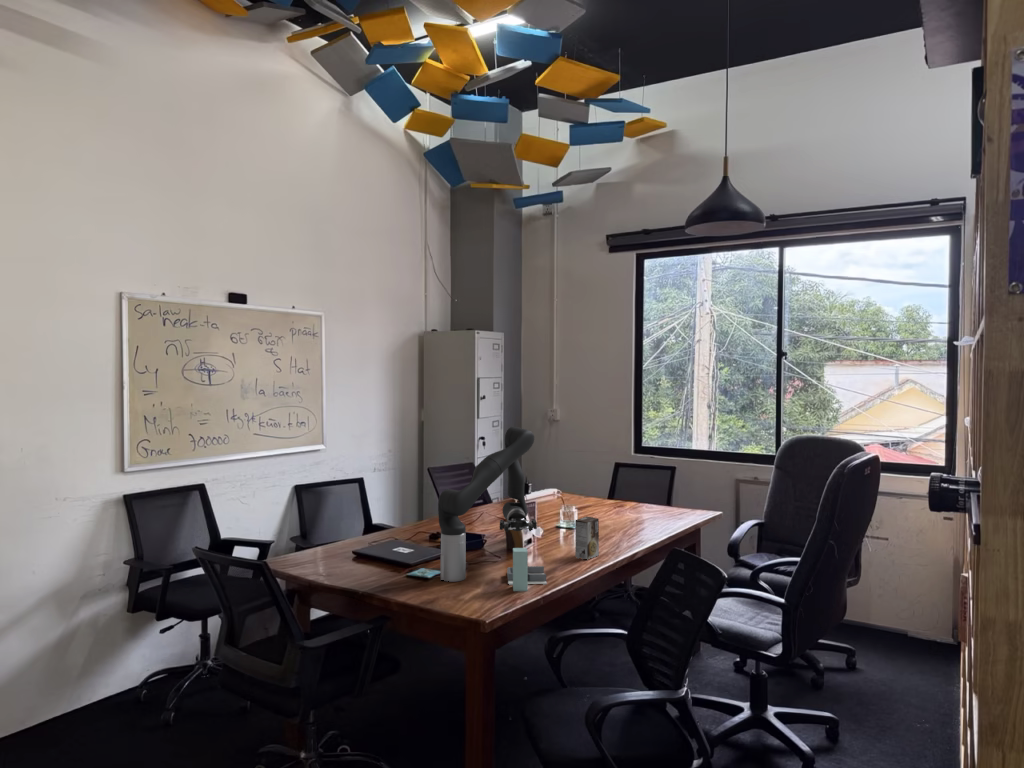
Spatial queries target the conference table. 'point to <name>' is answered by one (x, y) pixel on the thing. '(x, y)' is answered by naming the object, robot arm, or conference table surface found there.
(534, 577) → the keyhole guide
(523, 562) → the teal post
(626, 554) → the conference table surface
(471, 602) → the conference table surface
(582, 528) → the coffee box
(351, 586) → the conference table surface
